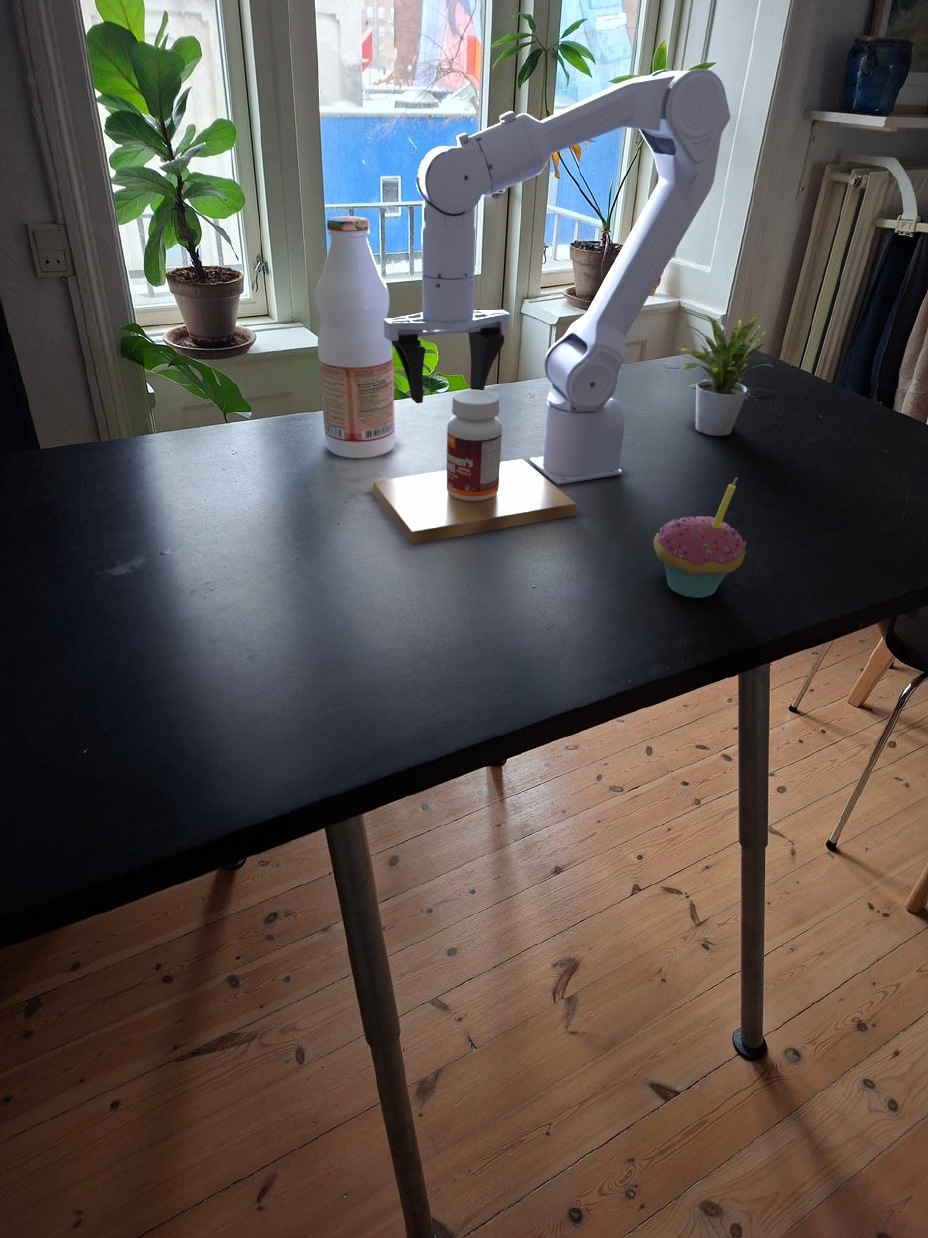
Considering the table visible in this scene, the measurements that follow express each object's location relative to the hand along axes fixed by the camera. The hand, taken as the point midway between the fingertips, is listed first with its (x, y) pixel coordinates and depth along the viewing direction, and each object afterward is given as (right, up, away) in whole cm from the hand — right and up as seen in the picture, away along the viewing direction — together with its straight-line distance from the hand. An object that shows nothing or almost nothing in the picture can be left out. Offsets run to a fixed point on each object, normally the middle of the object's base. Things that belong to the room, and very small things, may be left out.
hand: (447, 396), depth 95 cm
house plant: (+39, +2, +24) cm, 45 cm away
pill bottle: (+3, -12, -1) cm, 12 cm away
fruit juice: (-12, -3, +14) cm, 19 cm away
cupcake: (+25, -23, -15) cm, 37 cm away
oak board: (+3, -13, 0) cm, 13 cm away
